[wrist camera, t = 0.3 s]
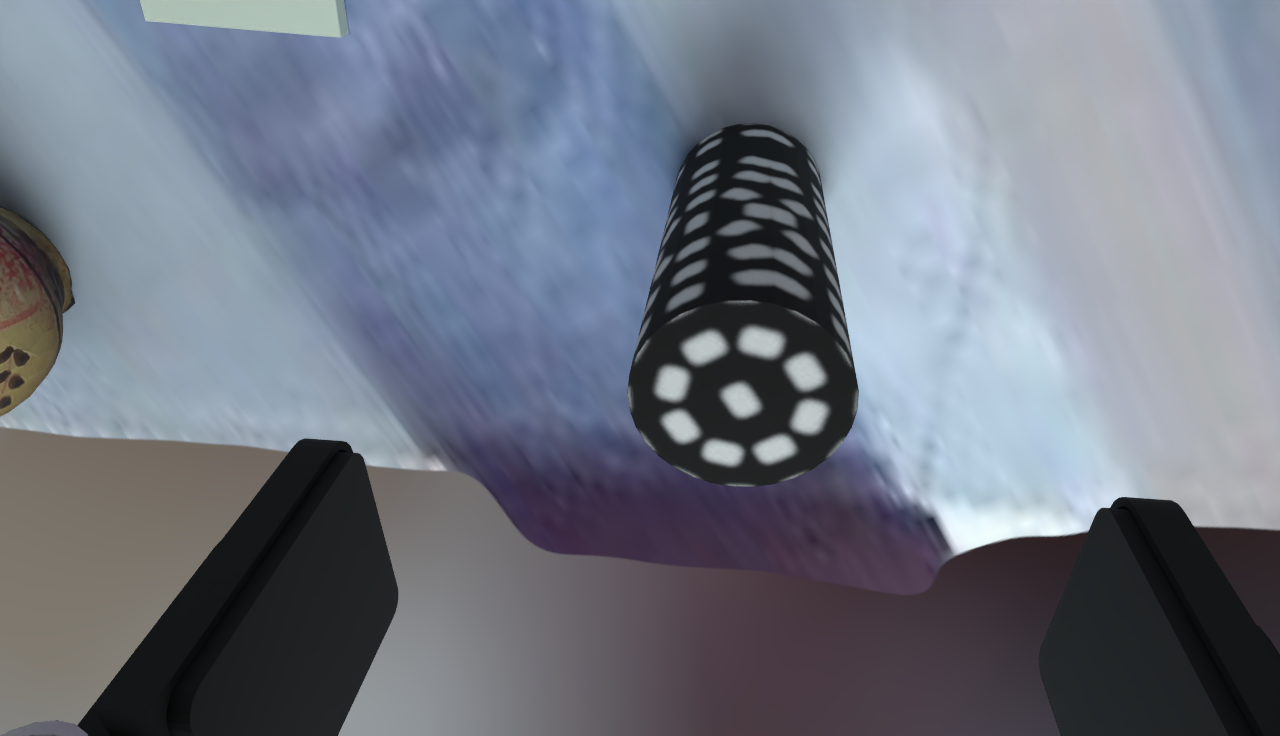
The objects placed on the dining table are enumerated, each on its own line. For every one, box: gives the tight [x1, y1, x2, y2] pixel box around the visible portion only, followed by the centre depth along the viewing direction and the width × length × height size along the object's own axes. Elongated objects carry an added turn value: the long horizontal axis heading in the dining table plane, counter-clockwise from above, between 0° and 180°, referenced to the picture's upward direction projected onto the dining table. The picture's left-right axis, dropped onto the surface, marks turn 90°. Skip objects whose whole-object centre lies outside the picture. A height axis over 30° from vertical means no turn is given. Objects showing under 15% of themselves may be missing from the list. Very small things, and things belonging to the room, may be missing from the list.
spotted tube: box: [628, 124, 859, 487], centre depth 37 cm, size 8×8×20 cm
